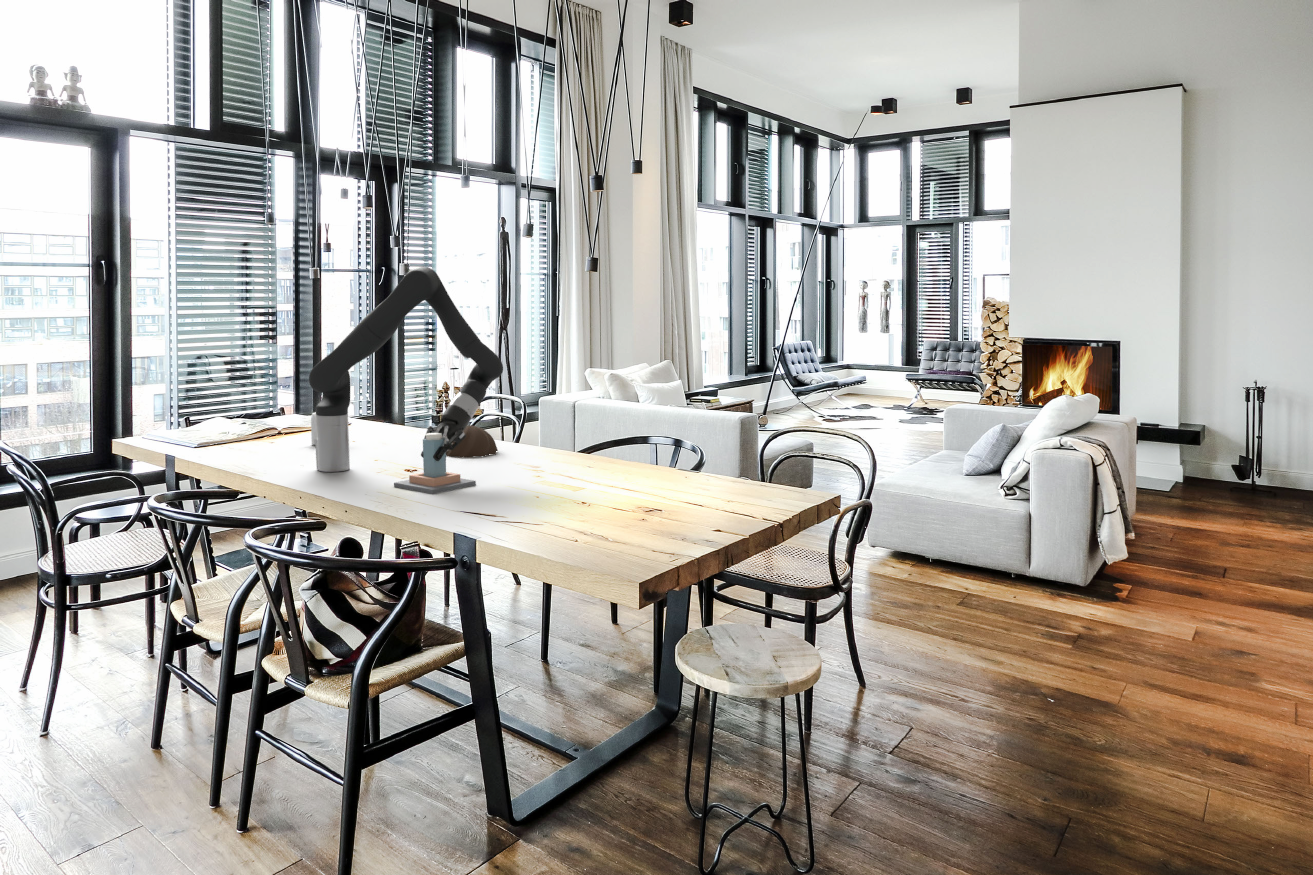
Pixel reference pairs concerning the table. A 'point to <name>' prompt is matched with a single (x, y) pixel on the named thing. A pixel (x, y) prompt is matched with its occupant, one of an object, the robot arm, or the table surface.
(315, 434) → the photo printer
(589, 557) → the table surface
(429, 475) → the ball-topped blue post
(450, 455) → the decorative dome
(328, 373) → the robot arm
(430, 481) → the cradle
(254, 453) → the table surface
